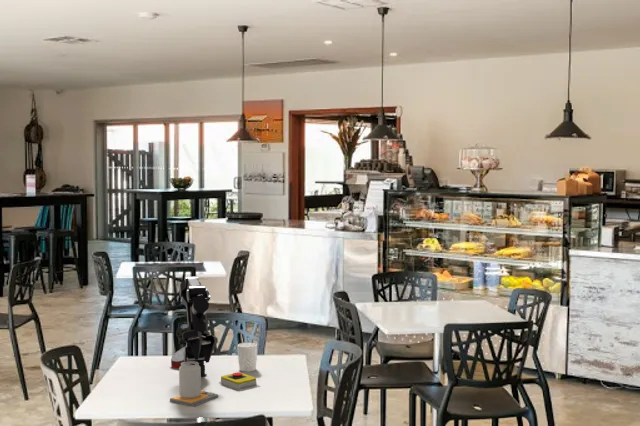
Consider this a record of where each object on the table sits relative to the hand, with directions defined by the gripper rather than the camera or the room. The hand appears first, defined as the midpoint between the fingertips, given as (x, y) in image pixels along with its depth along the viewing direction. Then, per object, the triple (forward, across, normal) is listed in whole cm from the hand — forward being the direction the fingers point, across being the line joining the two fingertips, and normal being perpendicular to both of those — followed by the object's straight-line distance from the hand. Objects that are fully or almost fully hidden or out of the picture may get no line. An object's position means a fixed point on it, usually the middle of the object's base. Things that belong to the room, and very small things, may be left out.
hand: (202, 361), depth 301 cm
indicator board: (+14, +6, -2) cm, 15 cm away
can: (+13, +8, -2) cm, 16 cm away
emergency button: (+9, -15, +8) cm, 19 cm away
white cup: (0, -34, +4) cm, 35 cm away
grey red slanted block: (-5, -32, -23) cm, 40 cm away
